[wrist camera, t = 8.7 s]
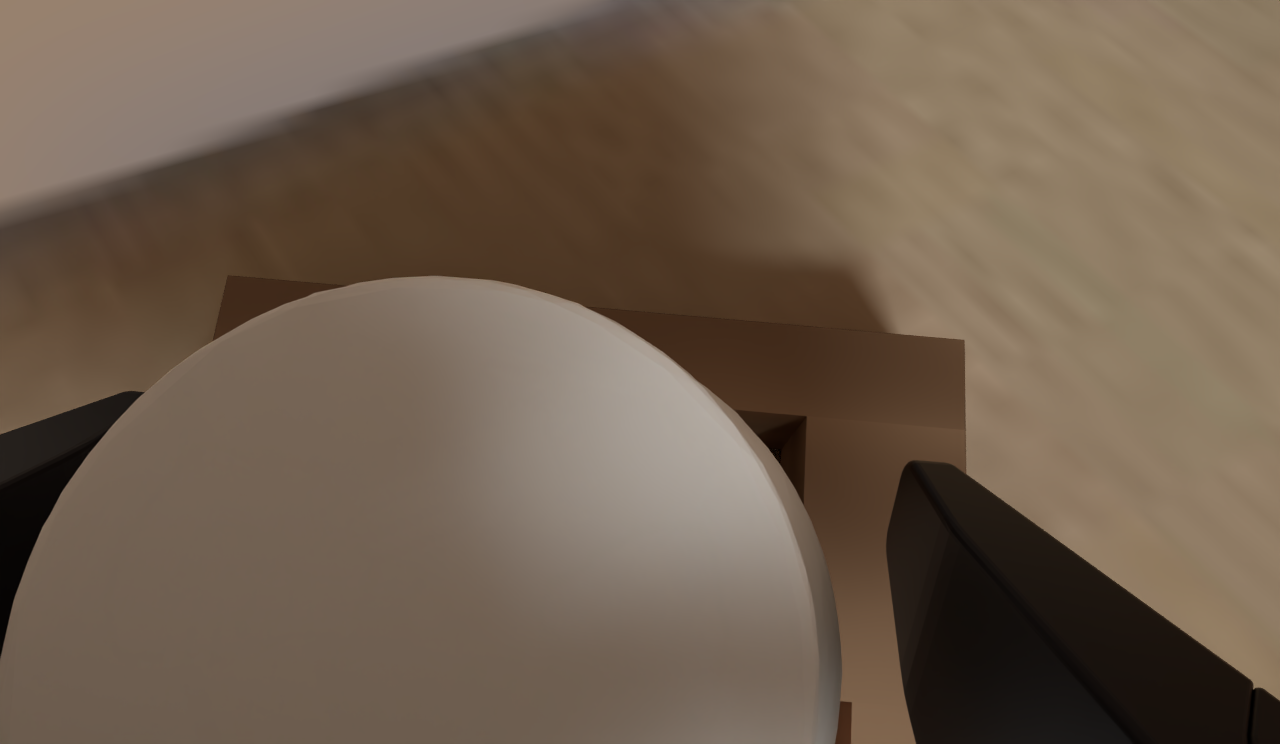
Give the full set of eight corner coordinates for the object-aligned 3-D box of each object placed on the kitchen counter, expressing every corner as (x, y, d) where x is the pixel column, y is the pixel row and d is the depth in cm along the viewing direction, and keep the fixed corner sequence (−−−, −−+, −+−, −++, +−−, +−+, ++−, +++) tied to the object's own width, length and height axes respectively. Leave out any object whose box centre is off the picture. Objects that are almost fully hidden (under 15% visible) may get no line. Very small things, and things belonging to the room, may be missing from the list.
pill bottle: (314, 754, 15) (-420, 1018, 5) (469, 413, 17) (175, 34, 6) (669, 909, 15) (737, 1608, 4) (795, 539, 16) (1084, 358, 6)
